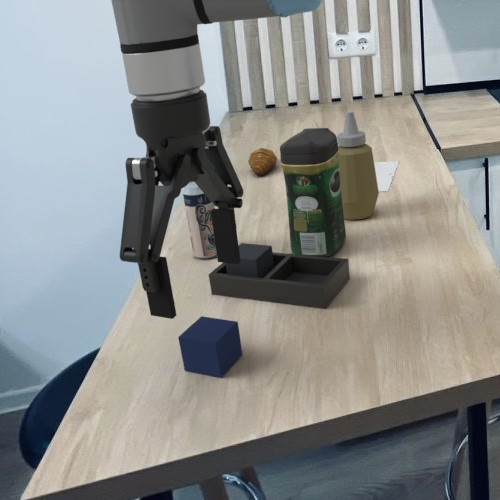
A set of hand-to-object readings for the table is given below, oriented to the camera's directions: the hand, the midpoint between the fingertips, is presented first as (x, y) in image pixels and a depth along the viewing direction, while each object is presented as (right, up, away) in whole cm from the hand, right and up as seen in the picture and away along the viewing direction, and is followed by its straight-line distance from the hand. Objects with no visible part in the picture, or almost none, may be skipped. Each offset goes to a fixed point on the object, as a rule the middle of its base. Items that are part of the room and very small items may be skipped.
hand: (198, 287), depth 73 cm
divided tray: (+10, -1, +20) cm, 22 cm away
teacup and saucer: (+25, +19, +64) cm, 71 cm away
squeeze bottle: (+24, +10, +42) cm, 50 cm away
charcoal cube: (+6, 0, +22) cm, 23 cm away
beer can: (-1, +3, +34) cm, 35 cm away
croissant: (+9, +22, +77) cm, 81 cm away
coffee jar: (+17, +4, +31) cm, 35 cm away
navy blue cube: (+2, -9, +4) cm, 10 cm away
